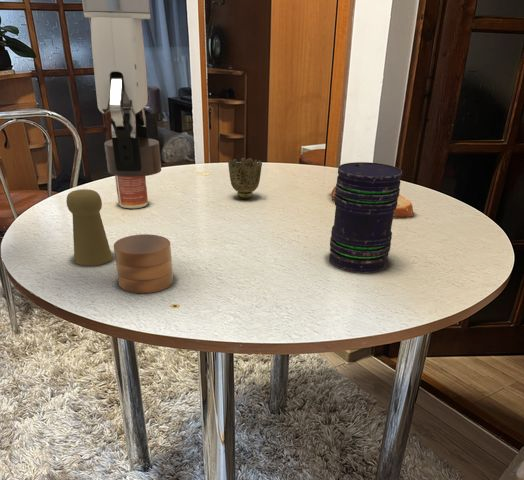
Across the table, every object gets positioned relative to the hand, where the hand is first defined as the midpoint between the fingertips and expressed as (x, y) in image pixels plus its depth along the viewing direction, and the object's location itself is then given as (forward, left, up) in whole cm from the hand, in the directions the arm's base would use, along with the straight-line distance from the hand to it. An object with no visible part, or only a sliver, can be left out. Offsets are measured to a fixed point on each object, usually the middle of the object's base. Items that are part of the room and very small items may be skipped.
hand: (133, 162), depth 68 cm
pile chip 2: (0, -1, -15) cm, 15 cm away
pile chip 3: (0, -1, -17) cm, 17 cm away
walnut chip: (0, 0, -1) cm, 1 cm away
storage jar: (+34, +7, -17) cm, 39 cm away
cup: (+16, +44, -17) cm, 50 cm away
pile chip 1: (0, -1, -13) cm, 13 cm away
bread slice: (+44, +40, -17) cm, 62 cm away
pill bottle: (-8, +38, -17) cm, 43 cm away
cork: (-10, +8, -17) cm, 21 cm away
